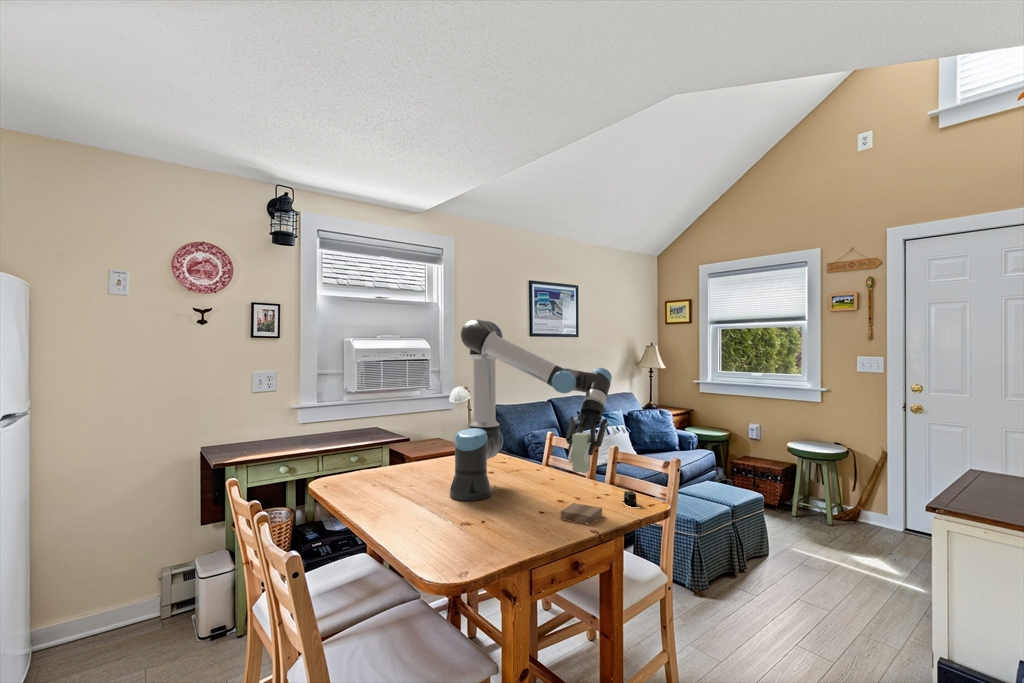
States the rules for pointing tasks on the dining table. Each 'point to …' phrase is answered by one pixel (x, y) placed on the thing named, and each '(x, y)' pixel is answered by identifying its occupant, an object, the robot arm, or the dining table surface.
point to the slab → (581, 513)
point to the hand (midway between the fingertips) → (577, 461)
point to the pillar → (580, 452)
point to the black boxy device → (630, 499)
